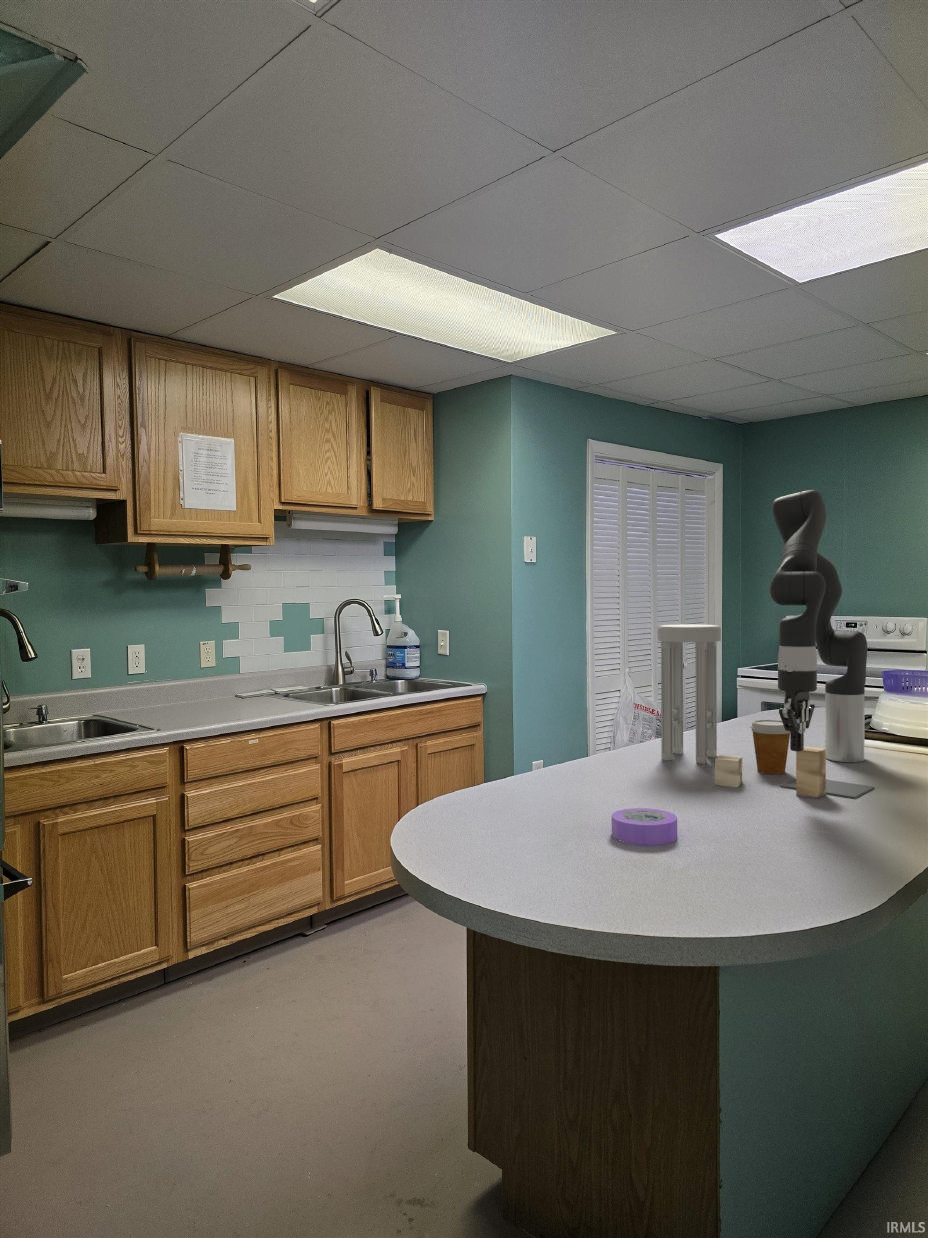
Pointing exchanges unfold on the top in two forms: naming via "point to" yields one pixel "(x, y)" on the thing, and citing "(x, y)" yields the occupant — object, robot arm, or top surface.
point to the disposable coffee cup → (770, 746)
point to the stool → (673, 688)
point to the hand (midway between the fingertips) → (796, 750)
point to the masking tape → (644, 826)
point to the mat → (838, 788)
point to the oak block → (811, 772)
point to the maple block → (728, 770)
